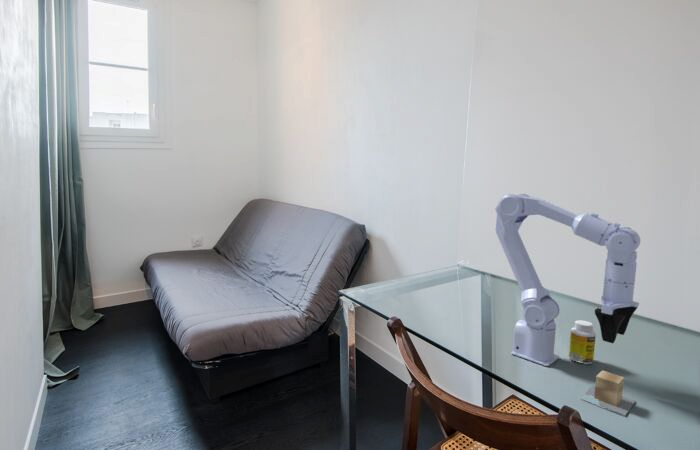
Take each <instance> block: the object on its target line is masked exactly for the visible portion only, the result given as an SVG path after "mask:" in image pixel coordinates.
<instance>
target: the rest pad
mask: <svg viewBox="0 0 700 450" xmlns="http://www.w3.org/2000/svg"><path fill="white" fill-rule="evenodd" d="M584 394H586V395H589V396H590V395H592V396H594V395H595V385H592V386H591V387H590V388H589V389H588V390H587V391H586V392H585V393H584ZM598 401H599V405H600V406H602V407H605V408H607V409H610V410H612V411H614V412H616V413H615V414H617V413H618V414H617V415H619V414H621V415H620V416H622V415H623V417H624V416H625V417H626V416H627V415H626V414H629V412H630V410H631V409H632V408H633V406H634V404H635V403H636V402H637V401H636V400H634V399H632V398H630V397H627V396H624V395H622V400H621V401H620V403H619V404H618V405H617V406H613V405H610V404H608V403H605V402H603V401H600V400H598ZM607 409H606V410H607ZM612 411H611V412H612ZM614 412H613V413H614Z"/></svg>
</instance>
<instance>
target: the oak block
mask: <svg viewBox="0 0 700 450" xmlns="http://www.w3.org/2000/svg"><path fill="white" fill-rule="evenodd" d="M624 380H625V377H624V376H620V375H618V374H614V373H611V372H608V371H606V370H601V371H600V372H599V373H598V374H597V375H596V376H595V383H594V384H595V385H594V386H595V395H594V398H595V399H598V400H600V401H603V402H605V403H608V404H610V405H613V406H617V405H618V404H619V403H620V401H621V400H622V396H623V394H624V393H623V392H624V391H623V390H624V383H625V382H624Z"/></svg>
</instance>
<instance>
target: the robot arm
mask: <svg viewBox="0 0 700 450" xmlns="http://www.w3.org/2000/svg"><path fill="white" fill-rule="evenodd" d="M495 213H496V220H495V221H496V222H495V234H496V235H497V238H498V240H499V243H500V244H501V247H502V249H503V252H504V255H505V257H506V259H507V261H508V263H509V267H510V268H511V270H512V273H513V275H514V277H515V279H516V283H517V284H518V287H519V288H520V291H521V298H520V303H521V306H522V317H523V319H518V321H517V322H516V323H515V326H514V330H513V340H512V341H513V343H512V351H511V355H514V356H515V357H519V358H522V359H525V360H527V361H530V362H533V363H535V364H539V365H542V366H544V367H549V366H550V365H552V364H553V363H554V362H556V361H557V360H558V359H560V355H558V354H554V353H555V344H556V328H557V324H556V322H555V319H556V318H558V316H559V314H560V305H559V304H558V302H557V301H556V300H555V299H554V298H553V297H552V296H551V295H550V292H549V290H547V288H545V287H544V286H543V285H542V283H541V280H540V278H539V276H538V274H537V272H536V269H535V267H534V265H533V262H532V260H531V258H530V256H529V253H528V251H527V248H526V247H525V245H524V242H523V239H522V238H521V235H520V232H519V229H520V228H521V226H522V224H523V222H524V221H525V220H526V219H527V218H528V217H529V216H536V215H538V216H542V217H543V218H544V217H545V218H547V219H549V220H552V221H554V222H557V223H560V224H563V225H565V226H567V227H571V229H572V232H573V234H574V235H576V236H577V237H581V238H582V239H583V240H584V239H585V240H587V241H589V242H592V243H594V244H596V245H598V246H601V247H604V246H605V249H606V251H607V254H606V255H607V257H606V260H605V267H604V268H605V269H604V279H603V289H602V290H603V291H602V296H601V303H602V304H601V308H598V307H597V308H595V309H594V314H595V316H596V319H597V320H598V321H597V322H599V323H598V324H599V327H600V334H601V340H602V341H603V342H606V343H610V344H614V343H615V341H616V339H617V336H618V335H622V336H624V335H625V333H626V331H627V328H628V326H629V323H630V320H631V318H632V316H633V314H634V313H635V312H636V310H638V307H639V306H640V303H639V301H634V290H635V283H636V273H637V265H638V263H637V258H638V255H637V254H638V251H636V250H637V249H638V248H639V246H640V244H641V237H640V235H639V233H638V232H637V231H635V230H634V229H632V228H631V227H627V226H622V227H621V224H620V223H618V222H614V223H613V222H610V221H608V220H605V219H602V218H601V217H599V214H597V213H595V212H592V213H591V214H590V213H589V212H585V213H583V214H580V215H578V214H576V213H574V212H571V211H569V210H568V209H565V208H563V207H559V205H558V206H557V205H555V204H553V203H551V202H549V201H547V200H545V199H542V198H539V197H535V196H530V195H528V194H526V193H520V194H510V193H509V194H506V195H504V196H502V197H501V198H500V199H499V201H498V202H497V205H496V207H495Z"/></svg>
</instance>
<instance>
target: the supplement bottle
mask: <svg viewBox="0 0 700 450" xmlns="http://www.w3.org/2000/svg"><path fill="white" fill-rule="evenodd" d="M593 329H594V325H593V323H592V322H590V321H587V320H581V319H579V320H575V321H574V327H572V328H571V329H570V338H569V339H570V340H569V348H568V358H569V360H571V361H572V360H573V361H572V362H574V361H580V362H582V363H584V364H583V365H591V364H592V363H593V362H594V356H595V349H596V348H595V347H596V346H595V345H596V337H597V336H596V335H597V334H596V332H595V331H594V330H593Z"/></svg>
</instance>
